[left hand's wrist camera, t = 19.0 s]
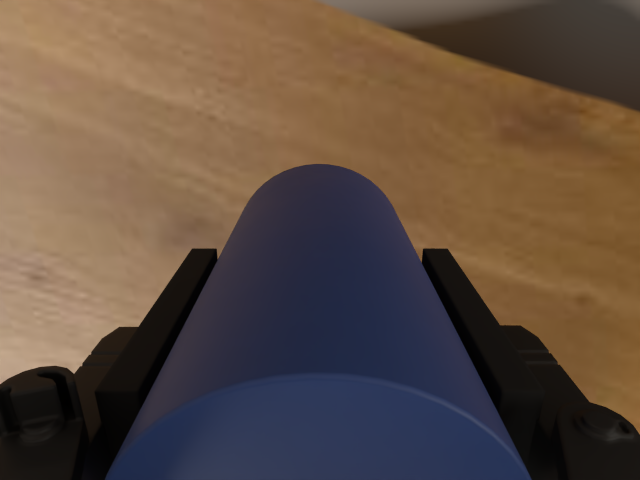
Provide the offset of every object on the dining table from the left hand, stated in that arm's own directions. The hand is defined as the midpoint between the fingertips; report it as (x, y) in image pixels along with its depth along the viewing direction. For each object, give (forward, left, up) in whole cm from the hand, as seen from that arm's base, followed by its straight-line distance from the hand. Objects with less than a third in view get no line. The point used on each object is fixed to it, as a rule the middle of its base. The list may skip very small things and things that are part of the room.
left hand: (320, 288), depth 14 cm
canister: (0, 0, -4) cm, 4 cm away
